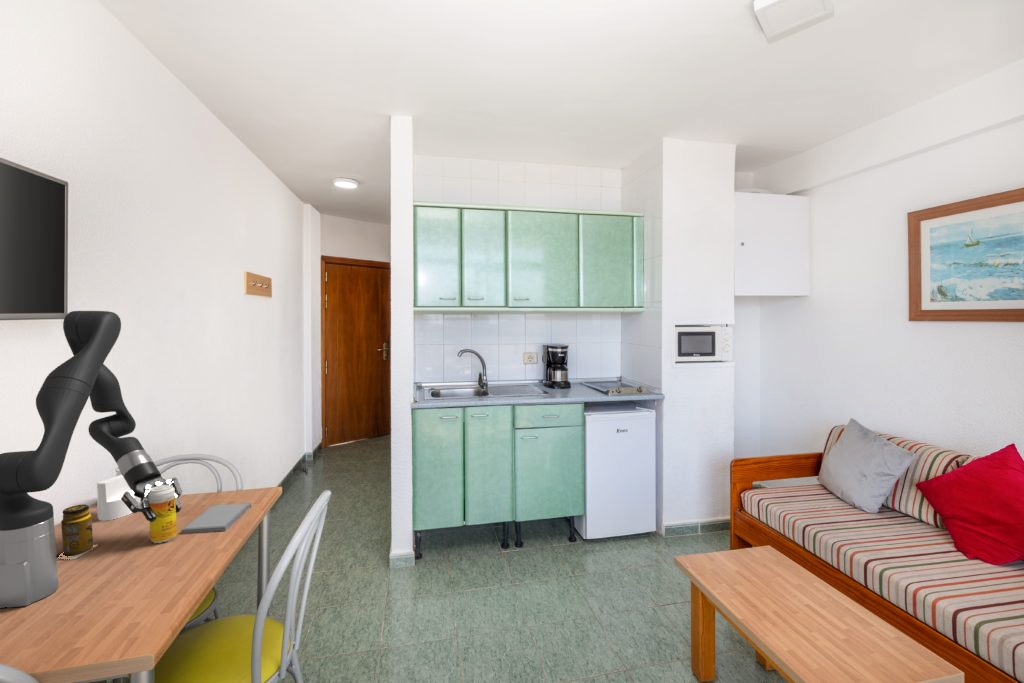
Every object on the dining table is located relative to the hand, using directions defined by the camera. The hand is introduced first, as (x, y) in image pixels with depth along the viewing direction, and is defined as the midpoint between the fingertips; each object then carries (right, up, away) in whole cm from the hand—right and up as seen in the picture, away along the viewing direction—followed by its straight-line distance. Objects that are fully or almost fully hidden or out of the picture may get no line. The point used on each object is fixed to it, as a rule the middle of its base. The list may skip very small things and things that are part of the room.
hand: (166, 515), depth 132 cm
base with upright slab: (-30, -7, +18) cm, 36 cm away
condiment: (-21, -8, -6) cm, 23 cm away
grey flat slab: (+6, -7, +14) cm, 17 cm away
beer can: (-2, -7, +1) cm, 8 cm away
